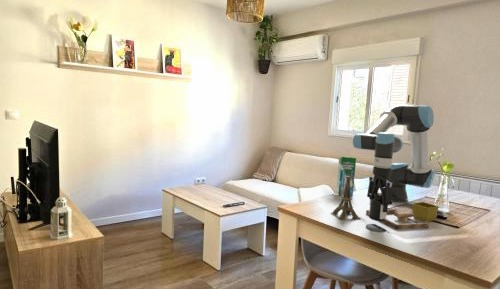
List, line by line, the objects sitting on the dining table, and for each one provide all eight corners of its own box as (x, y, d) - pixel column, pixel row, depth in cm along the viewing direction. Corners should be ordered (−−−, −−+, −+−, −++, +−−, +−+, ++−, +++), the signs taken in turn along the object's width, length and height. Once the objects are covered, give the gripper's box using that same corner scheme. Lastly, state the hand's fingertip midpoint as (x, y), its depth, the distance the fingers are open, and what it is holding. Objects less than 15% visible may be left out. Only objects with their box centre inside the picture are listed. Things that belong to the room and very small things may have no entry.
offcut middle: (404, 218, 164) (404, 214, 164) (406, 223, 157) (407, 219, 157) (397, 217, 165) (397, 213, 165) (399, 222, 158) (399, 217, 158)
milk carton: (349, 192, 219) (353, 155, 216) (352, 196, 210) (356, 157, 207) (336, 191, 220) (339, 154, 217) (338, 194, 211) (341, 156, 208)
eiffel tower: (330, 213, 170) (334, 166, 167) (348, 213, 173) (352, 166, 170) (340, 220, 160) (345, 170, 157) (359, 219, 162) (364, 170, 160)
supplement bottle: (383, 222, 145) (386, 196, 144) (367, 219, 149) (370, 193, 148) (386, 218, 151) (388, 193, 150) (370, 215, 155) (373, 191, 153)
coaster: (377, 224, 156) (378, 223, 156) (390, 231, 147) (391, 230, 147) (361, 225, 154) (361, 224, 153) (374, 232, 145) (374, 231, 145)
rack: (394, 215, 173) (395, 209, 172) (428, 230, 152) (428, 223, 151) (365, 216, 167) (366, 210, 167) (396, 232, 146) (396, 225, 146)
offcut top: (411, 217, 160) (412, 213, 160) (399, 217, 158) (399, 213, 158) (406, 215, 164) (407, 211, 163) (393, 215, 161) (394, 211, 161)
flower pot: (425, 225, 158) (428, 207, 158) (409, 220, 166) (411, 203, 165) (437, 223, 163) (439, 206, 162) (420, 218, 170) (422, 201, 169)
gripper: (361, 163, 156) (357, 209, 158) (390, 170, 137) (384, 223, 139) (375, 163, 158) (370, 209, 160) (405, 170, 139) (399, 223, 141)
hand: (377, 215), depth 150 cm, fingers closed on supplement bottle, 7 cm apart
